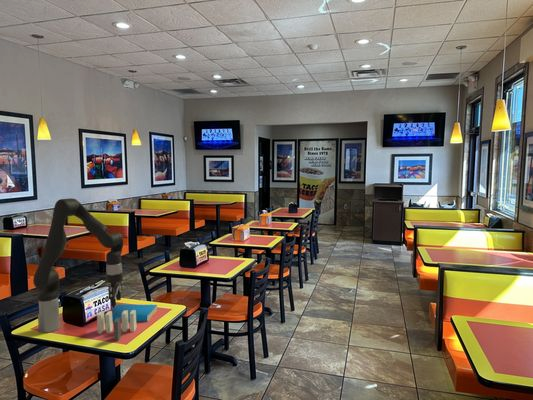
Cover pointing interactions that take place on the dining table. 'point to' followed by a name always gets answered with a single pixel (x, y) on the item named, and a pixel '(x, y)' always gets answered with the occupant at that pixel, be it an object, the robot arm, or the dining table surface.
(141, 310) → the book
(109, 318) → the domino
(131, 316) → the domino
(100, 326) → the domino
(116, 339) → the domino
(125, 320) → the domino
